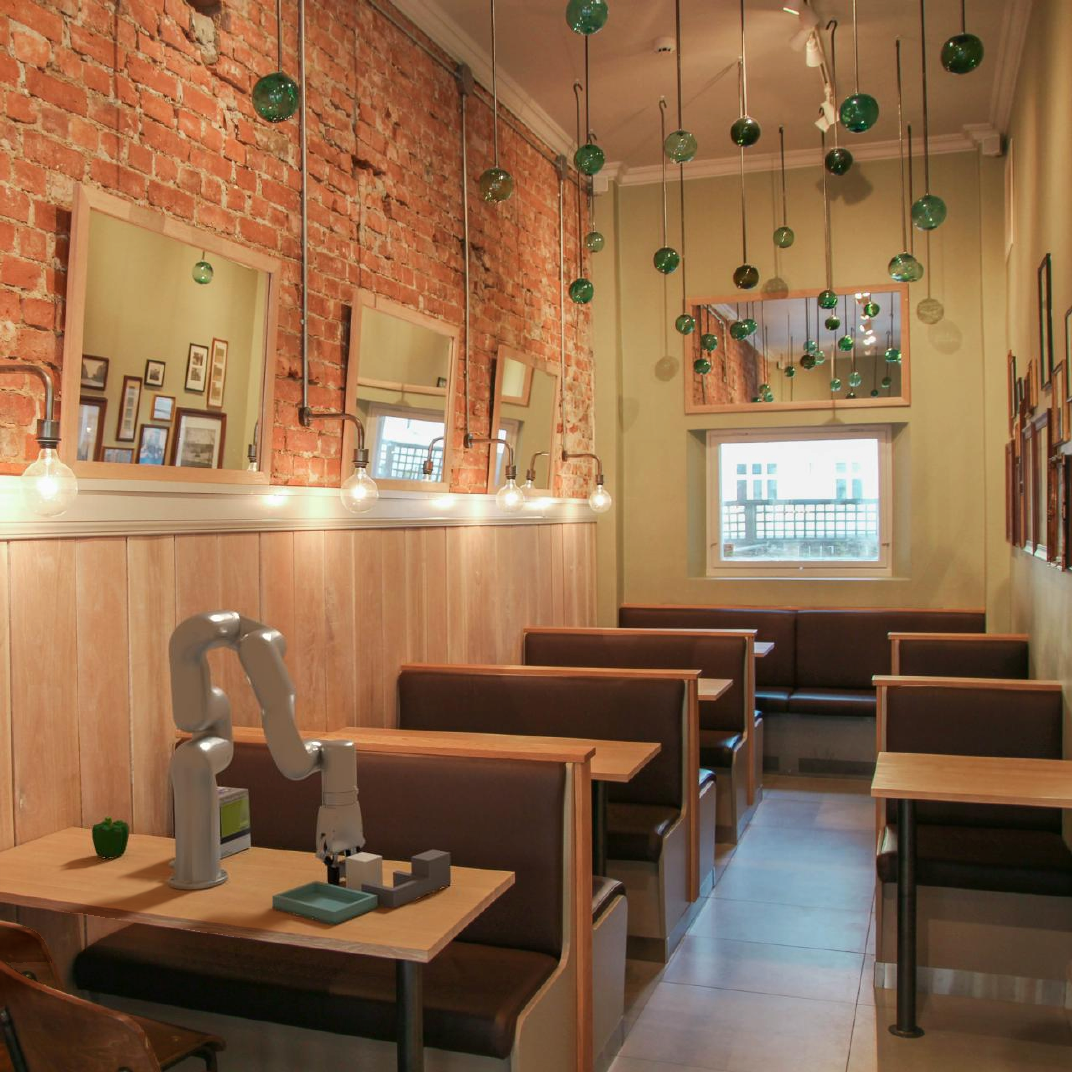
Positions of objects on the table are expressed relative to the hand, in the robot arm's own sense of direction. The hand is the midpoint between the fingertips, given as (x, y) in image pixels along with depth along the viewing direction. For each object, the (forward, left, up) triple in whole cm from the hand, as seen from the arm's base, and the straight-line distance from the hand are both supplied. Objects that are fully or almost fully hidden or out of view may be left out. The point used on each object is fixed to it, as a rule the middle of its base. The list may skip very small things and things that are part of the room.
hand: (341, 880), depth 243 cm
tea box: (-43, 0, -1) cm, 43 cm away
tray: (+9, -13, -1) cm, 16 cm away
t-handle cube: (+5, 0, -1) cm, 5 cm away
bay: (+16, +3, -1) cm, 17 cm away
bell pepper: (-63, -15, -1) cm, 65 cm away
